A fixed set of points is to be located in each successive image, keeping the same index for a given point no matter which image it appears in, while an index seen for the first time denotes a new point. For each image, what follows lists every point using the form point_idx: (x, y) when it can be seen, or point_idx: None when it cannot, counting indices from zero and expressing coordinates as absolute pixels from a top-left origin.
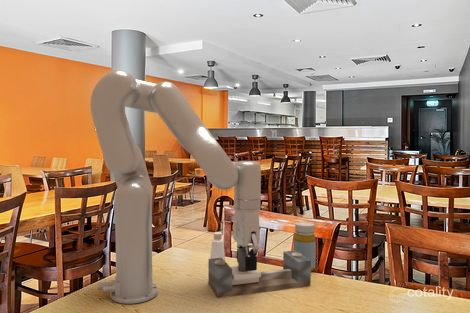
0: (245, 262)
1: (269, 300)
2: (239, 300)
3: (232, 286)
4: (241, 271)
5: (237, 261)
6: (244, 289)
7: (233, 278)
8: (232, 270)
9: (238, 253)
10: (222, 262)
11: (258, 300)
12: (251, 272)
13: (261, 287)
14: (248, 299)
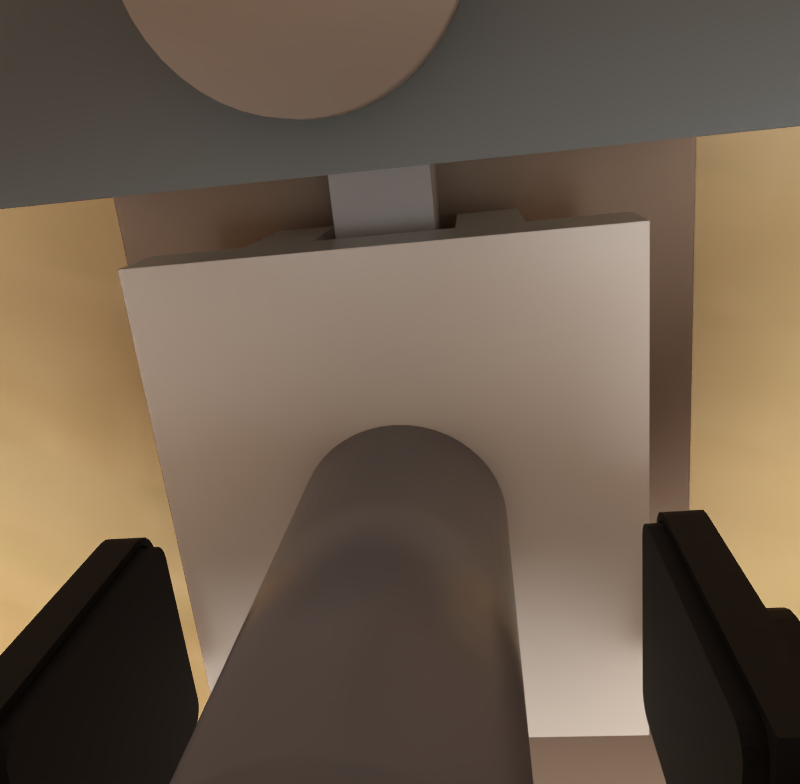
0: (54, 633)
1: (7, 577)
2: (17, 252)
3: (267, 230)
4: (320, 465)
5: (674, 516)
6: None
7: (170, 257)
8: (414, 308)
9: (346, 648)
10: (188, 1)
11: (10, 470)
12: (244, 613)
13: None
14: (41, 368)
